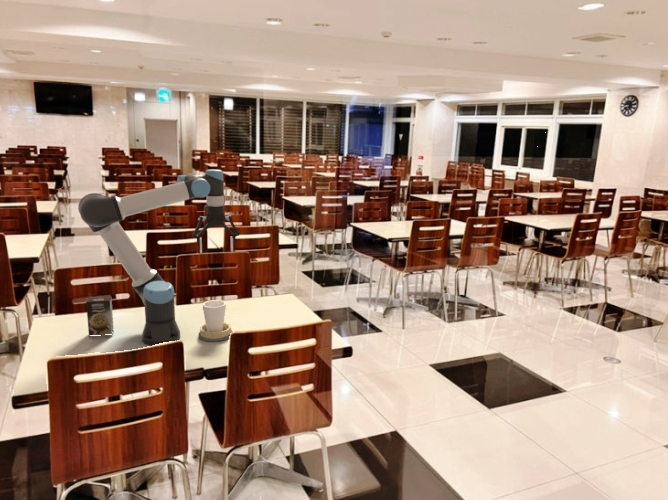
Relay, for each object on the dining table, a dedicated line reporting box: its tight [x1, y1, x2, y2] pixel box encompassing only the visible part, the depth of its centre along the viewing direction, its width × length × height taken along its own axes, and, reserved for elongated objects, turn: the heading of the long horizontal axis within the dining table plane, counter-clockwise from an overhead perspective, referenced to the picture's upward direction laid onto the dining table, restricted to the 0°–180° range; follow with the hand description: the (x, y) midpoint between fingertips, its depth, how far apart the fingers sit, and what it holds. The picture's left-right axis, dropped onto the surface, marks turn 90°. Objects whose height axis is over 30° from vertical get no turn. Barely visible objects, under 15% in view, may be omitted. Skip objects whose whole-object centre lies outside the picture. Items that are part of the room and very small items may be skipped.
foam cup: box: [202, 299, 227, 332], centre depth 219 cm, size 10×9×13 cm
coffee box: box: [85, 295, 115, 339], centre depth 216 cm, size 9×6×16 cm
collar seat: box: [198, 321, 233, 343], centre depth 220 cm, size 14×14×4 cm
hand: (216, 252), depth 233 cm, fingers open, 13 cm apart
